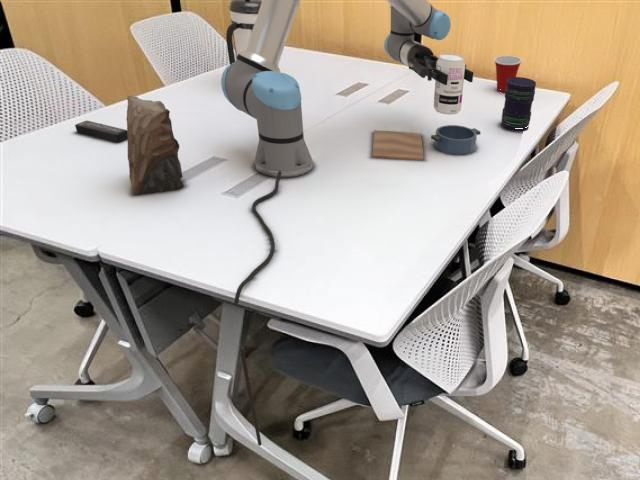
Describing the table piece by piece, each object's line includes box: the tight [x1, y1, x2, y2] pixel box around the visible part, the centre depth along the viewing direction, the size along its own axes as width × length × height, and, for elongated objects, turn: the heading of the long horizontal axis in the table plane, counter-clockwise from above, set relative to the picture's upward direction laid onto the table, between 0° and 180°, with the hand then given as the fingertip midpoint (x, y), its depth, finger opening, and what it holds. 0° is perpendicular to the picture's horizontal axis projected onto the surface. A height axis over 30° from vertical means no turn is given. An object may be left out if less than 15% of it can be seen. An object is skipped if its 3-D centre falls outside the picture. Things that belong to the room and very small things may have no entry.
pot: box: [430, 124, 482, 156], centre depth 182 cm, size 13×17×4 cm
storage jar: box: [500, 76, 537, 133], centre depth 197 cm, size 10×10×15 cm
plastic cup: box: [493, 55, 523, 94], centre depth 228 cm, size 11×11×12 cm
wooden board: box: [371, 129, 424, 161], centre depth 179 cm, size 20×15×1 cm
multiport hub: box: [74, 120, 128, 144], centre depth 166 cm, size 4×14×2 cm, turn 71°
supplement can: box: [433, 53, 466, 116], centre depth 170 cm, size 8×8×15 cm
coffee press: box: [225, 0, 262, 65], centre depth 203 cm, size 17×16×30 cm
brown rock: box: [125, 95, 185, 196], centre depth 141 cm, size 13×13×20 cm
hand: (459, 78), depth 166 cm, fingers closed on supplement can, 8 cm apart
